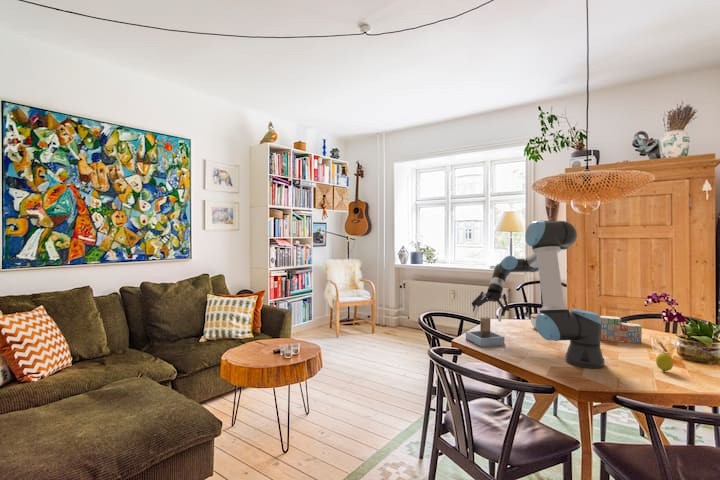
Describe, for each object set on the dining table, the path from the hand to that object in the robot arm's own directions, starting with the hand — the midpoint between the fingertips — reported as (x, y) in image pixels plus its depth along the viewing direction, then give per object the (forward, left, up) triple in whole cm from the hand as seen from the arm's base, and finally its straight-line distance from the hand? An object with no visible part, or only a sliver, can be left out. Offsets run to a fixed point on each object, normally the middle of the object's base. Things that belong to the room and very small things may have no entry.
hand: (486, 318), depth 204 cm
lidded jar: (+13, -47, -12) cm, 50 cm away
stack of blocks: (-18, -68, -12) cm, 72 cm away
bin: (-2, +2, -12) cm, 12 cm away
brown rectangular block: (-2, +2, -11) cm, 11 cm away
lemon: (-60, -45, -12) cm, 76 cm away
